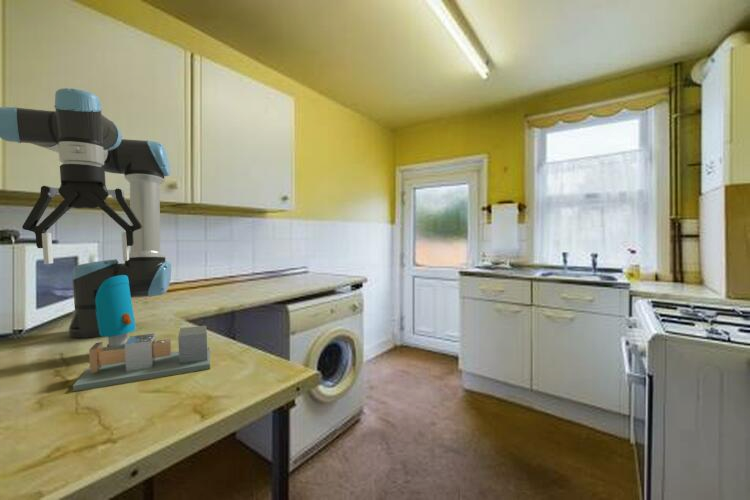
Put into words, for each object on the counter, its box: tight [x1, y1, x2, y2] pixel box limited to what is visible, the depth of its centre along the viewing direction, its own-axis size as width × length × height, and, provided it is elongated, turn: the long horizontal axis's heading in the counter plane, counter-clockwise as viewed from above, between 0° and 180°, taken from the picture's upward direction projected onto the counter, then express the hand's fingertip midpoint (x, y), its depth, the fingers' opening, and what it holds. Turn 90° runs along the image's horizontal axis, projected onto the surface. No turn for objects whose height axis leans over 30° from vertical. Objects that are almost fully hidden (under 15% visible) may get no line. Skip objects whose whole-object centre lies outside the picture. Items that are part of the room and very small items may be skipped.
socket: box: [177, 325, 208, 365], centre depth 86 cm, size 8×6×7 cm
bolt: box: [88, 338, 172, 373], centre depth 81 cm, size 5×15×5 cm, turn 116°
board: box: [72, 346, 211, 392], centre depth 83 cm, size 13×26×1 cm, turn 116°
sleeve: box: [125, 333, 156, 372], centre depth 82 cm, size 7×5×6 cm
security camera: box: [93, 275, 137, 347], centre depth 93 cm, size 8×21×10 cm
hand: (89, 262), depth 77 cm, fingers open, 13 cm apart
